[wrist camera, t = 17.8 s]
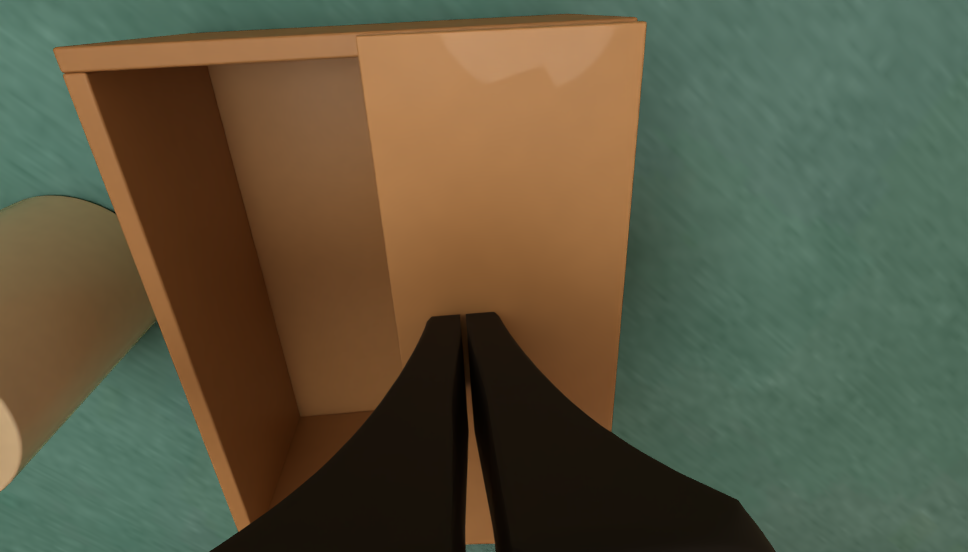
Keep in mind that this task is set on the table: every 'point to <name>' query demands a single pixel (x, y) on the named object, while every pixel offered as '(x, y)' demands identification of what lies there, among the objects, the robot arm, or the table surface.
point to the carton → (256, 231)
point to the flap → (509, 194)
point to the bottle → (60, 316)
